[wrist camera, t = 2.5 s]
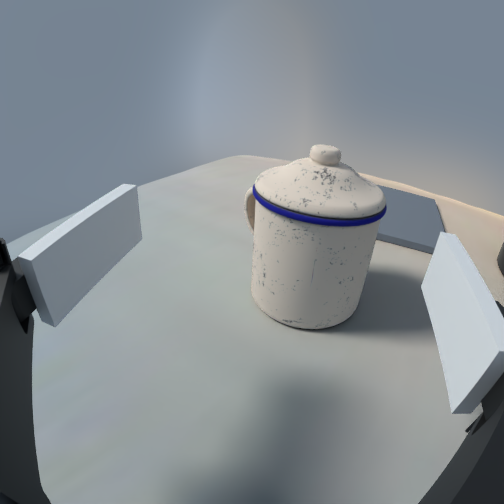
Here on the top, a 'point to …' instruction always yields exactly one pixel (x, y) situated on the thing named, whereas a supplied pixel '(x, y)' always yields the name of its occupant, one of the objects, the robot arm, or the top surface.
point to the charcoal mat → (410, 221)
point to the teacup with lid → (312, 238)
